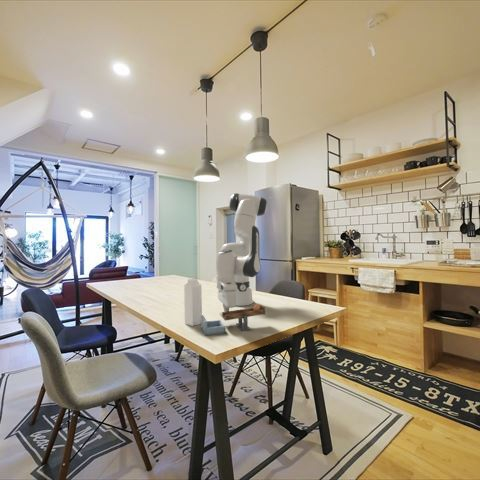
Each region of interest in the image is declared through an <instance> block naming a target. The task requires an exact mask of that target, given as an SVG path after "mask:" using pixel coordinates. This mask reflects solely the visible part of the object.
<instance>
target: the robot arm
mask: <svg viewBox="0 0 480 480" xmlns="http://www.w3.org/2000/svg"><path fill="white" fill-rule="evenodd" d="M228 201H229V202H228V206H229V209H230V210H231V211H232V212H235V216H234V219H233V227H234V230H233V231H234V234H235V235H236V236H237V237H238V238H239V242H228V243H225V244H222V246H221V248H220V251H218V252H217V254H216V262H215V265H216V266H215V268H216V277H215V278H216V289H217V300H218V301H219V302H220V303H221V304H222V306H223V312H228V311H230V308H231V309H232V308H233V309H234V308H235V307H236V306H237V307H238V306H240V307H241V306H243V307H244V306H249V305H250V306H251V305H252V304H253V303H254V304H255V300H254V299H253V291H252V289H251V288H250V285H251V283H250V281H249V280H250V279H249V278H255V277H256V276H257V275H258V274H259V272H260V271H261V261H260V260H261V258H260V231H259V228H258V227H257V226H256V217H258V216H264V215H265V213H266V212H267V210H268V201H267V199H266V198H264V197H259V196H257V195H252V194H245V193H243V194H242V193H233V194H232V195H230V198H229V200H228Z"/></svg>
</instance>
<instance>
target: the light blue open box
mask: <svg viewBox="0 0 480 480" xmlns="http://www.w3.org/2000/svg"><path fill="white" fill-rule="evenodd" d="M200 326H201V327H200V328H201V331H202V333H203V335H204V336H205V337H206V336H212V335H221V334H226V325H224V323H222V320H221V319H218V320H217V319H216V320H210V321H208V320H207V318H205V316H204V315H203V314H202V316H201V324H200Z"/></svg>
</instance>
